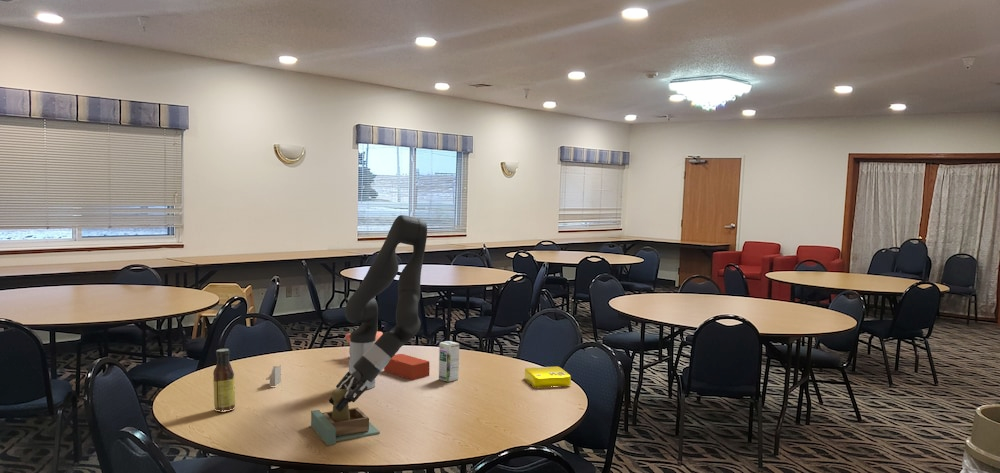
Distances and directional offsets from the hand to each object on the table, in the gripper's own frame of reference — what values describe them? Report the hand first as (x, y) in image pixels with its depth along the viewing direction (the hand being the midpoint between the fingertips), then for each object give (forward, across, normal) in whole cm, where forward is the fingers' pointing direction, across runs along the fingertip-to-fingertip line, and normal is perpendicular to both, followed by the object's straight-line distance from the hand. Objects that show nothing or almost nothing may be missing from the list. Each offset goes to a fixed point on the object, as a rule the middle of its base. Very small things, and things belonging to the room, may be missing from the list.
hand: (333, 406), depth 192 cm
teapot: (-21, -80, +33) cm, 89 cm away
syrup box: (-33, -36, +45) cm, 66 cm away
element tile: (-56, -16, +68) cm, 90 cm away
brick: (-25, -52, +37) cm, 68 cm away
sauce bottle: (+24, -36, -12) cm, 45 cm away
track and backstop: (+3, 0, +8) cm, 9 cm away
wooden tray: (+3, 0, +8) cm, 9 cm away
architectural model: (+10, -58, +2) cm, 58 cm away
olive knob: (+3, 0, +6) cm, 7 cm away
